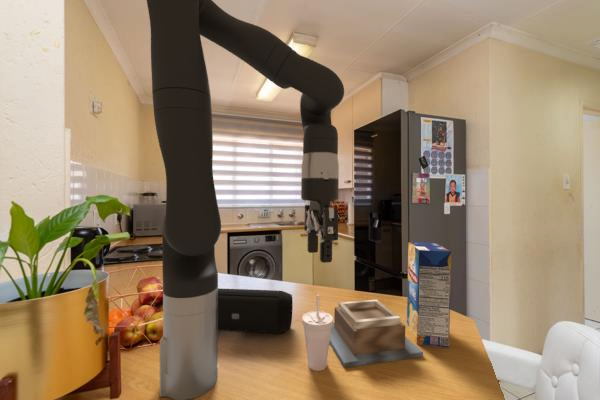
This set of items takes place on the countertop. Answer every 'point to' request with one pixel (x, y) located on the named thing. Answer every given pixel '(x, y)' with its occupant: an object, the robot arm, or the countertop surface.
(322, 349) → the smoothie
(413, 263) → the beverage box
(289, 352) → the countertop surface
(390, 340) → the pedestal base
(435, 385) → the countertop surface
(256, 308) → the portable speaker
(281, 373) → the countertop surface
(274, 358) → the countertop surface
